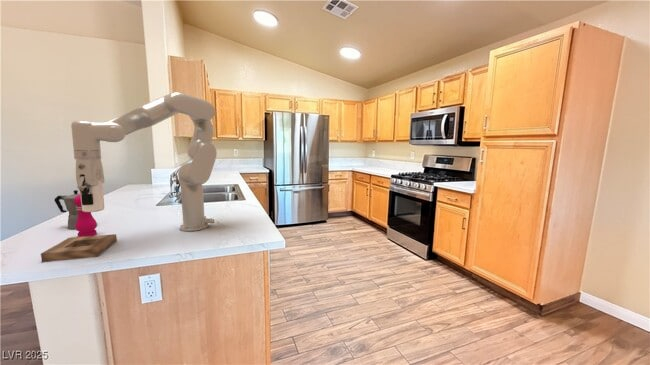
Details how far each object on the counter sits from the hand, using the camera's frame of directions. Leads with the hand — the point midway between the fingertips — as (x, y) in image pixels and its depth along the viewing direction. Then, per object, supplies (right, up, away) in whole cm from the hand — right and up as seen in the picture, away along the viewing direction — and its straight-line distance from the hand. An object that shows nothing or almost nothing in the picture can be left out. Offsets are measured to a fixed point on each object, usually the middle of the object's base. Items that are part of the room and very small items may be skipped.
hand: (92, 202), depth 101 cm
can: (0, -3, +1) cm, 3 cm away
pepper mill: (-16, -16, +16) cm, 28 cm away
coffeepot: (-32, -14, +28) cm, 45 cm away
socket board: (-4, -18, +1) cm, 19 cm away
